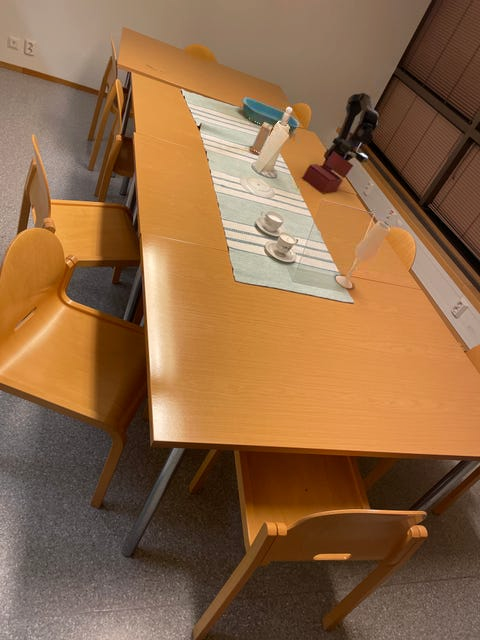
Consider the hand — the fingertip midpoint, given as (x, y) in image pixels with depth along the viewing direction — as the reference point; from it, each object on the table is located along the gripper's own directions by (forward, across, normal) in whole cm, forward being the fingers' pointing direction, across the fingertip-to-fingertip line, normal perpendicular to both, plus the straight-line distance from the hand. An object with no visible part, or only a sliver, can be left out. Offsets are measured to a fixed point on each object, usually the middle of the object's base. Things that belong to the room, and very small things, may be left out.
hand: (341, 165), depth 236 cm
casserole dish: (+10, -61, +18) cm, 64 cm away
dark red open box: (+10, 0, -12) cm, 15 cm away
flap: (-1, 0, -3) cm, 3 cm away
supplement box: (+10, -31, -28) cm, 44 cm away
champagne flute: (+11, +54, -78) cm, 96 cm away
